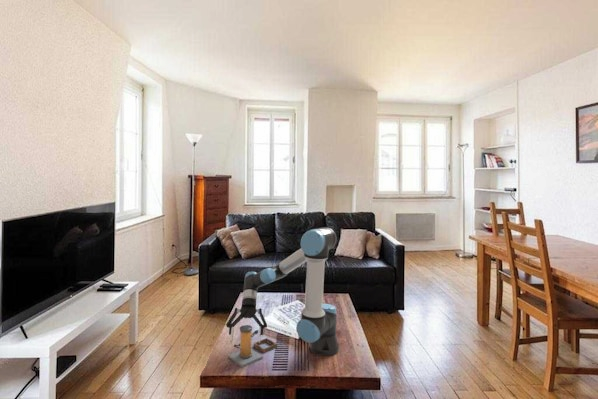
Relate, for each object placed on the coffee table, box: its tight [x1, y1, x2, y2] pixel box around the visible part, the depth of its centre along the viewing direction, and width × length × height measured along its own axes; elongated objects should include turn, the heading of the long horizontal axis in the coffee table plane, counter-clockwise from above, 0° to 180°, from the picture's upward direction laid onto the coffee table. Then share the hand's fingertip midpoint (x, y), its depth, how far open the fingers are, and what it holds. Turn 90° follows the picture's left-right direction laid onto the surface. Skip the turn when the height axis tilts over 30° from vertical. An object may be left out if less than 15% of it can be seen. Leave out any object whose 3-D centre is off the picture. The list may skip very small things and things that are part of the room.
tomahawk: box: [233, 329, 259, 349], centre depth 179 cm, size 21×7×1 cm, turn 153°
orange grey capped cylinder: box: [239, 324, 253, 359], centre depth 160 cm, size 6×6×14 cm
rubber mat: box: [228, 348, 264, 368], centre depth 160 cm, size 12×12×1 cm
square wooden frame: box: [253, 337, 278, 353], centre depth 171 cm, size 9×9×2 cm
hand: (245, 341), depth 158 cm, fingers open, 13 cm apart
